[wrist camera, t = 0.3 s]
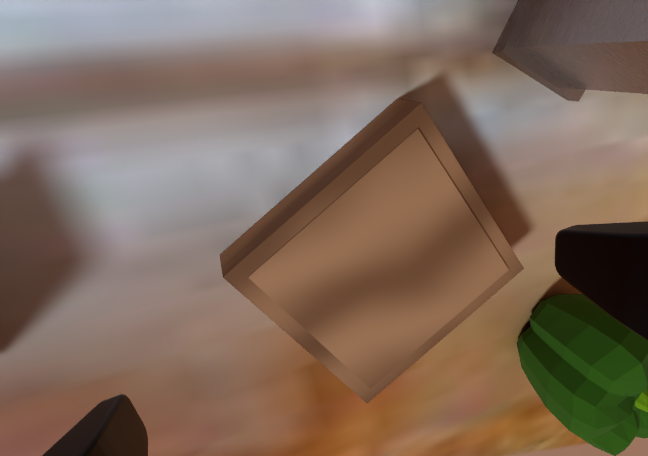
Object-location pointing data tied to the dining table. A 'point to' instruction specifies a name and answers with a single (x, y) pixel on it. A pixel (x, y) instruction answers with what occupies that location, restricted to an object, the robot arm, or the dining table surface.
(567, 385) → the bell pepper
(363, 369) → the stand
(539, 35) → the plate
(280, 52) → the dining table surface
